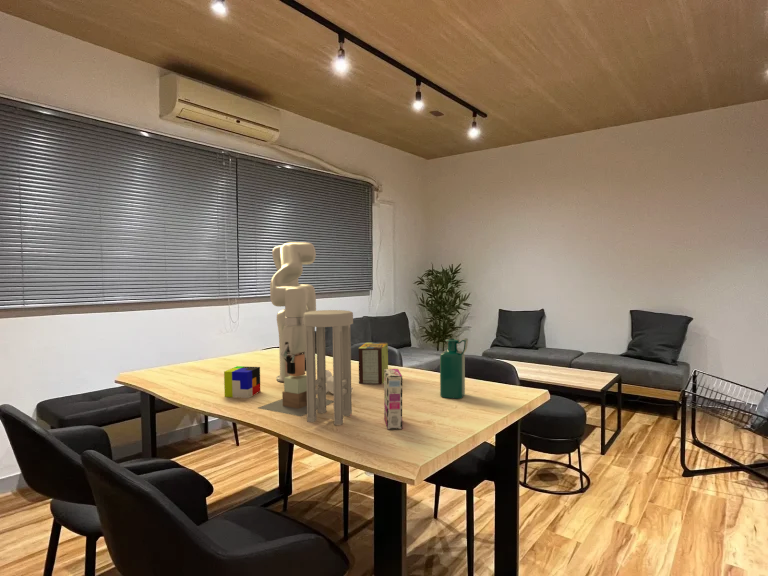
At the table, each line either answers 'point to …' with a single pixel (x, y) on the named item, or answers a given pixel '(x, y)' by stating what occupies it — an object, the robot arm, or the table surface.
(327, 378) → the cream shape with stub
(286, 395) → the tower base
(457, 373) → the pitcher
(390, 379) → the candy bar box
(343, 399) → the stool
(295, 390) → the tower top
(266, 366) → the table surface
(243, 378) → the puzzle toy
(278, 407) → the rubber mat
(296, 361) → the peach egg shape
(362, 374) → the protein box
